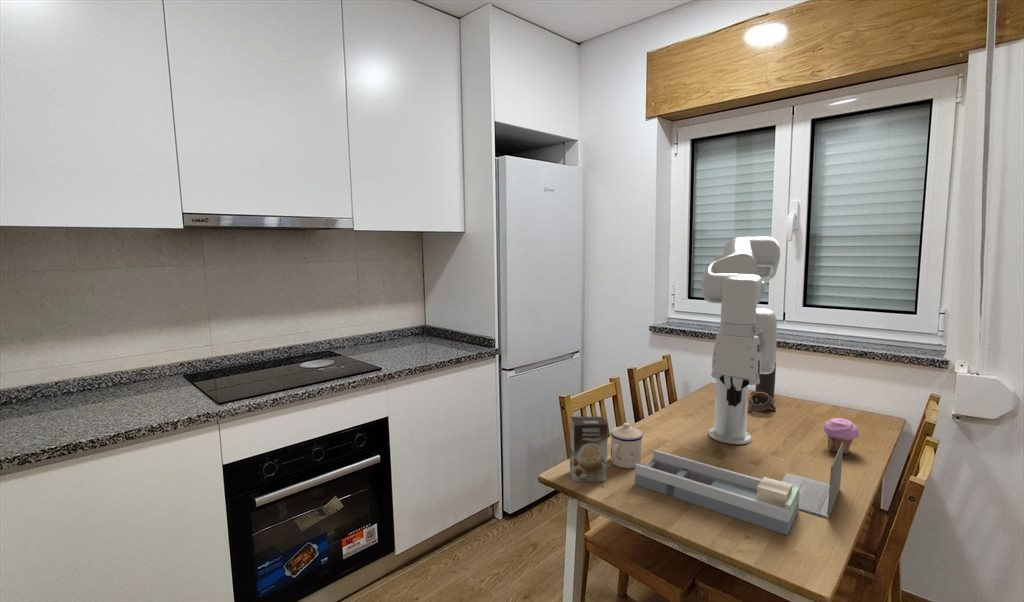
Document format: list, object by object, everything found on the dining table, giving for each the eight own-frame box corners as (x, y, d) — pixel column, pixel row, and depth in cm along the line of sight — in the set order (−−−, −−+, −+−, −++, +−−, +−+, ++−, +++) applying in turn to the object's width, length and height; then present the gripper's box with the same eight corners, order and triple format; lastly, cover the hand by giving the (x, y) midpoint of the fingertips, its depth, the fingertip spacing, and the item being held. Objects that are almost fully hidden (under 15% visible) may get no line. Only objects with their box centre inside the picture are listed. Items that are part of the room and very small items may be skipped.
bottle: (758, 400, 198) (761, 350, 195) (752, 394, 204) (755, 347, 202) (776, 400, 196) (779, 351, 194) (770, 395, 203) (773, 347, 201)
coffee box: (573, 482, 133) (573, 425, 131) (569, 471, 139) (569, 416, 137) (607, 481, 133) (608, 424, 131) (602, 470, 139) (602, 415, 137)
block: (762, 496, 119) (764, 476, 118) (791, 504, 115) (792, 484, 115) (756, 506, 114) (757, 486, 114) (785, 516, 111) (786, 495, 110)
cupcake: (819, 450, 151) (821, 419, 149) (825, 442, 157) (827, 411, 156) (854, 459, 145) (857, 426, 143) (859, 450, 151) (862, 418, 150)
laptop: (786, 475, 136) (789, 429, 135) (840, 489, 128) (844, 441, 127) (769, 502, 123) (772, 451, 121) (829, 520, 115) (833, 466, 113)
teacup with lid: (619, 452, 151) (620, 415, 149) (647, 461, 145) (648, 423, 143) (598, 466, 142) (599, 427, 140) (627, 476, 136) (628, 435, 134)
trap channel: (654, 468, 141) (654, 446, 140) (798, 511, 118) (799, 486, 117) (635, 484, 131) (635, 461, 131) (787, 535, 109) (789, 507, 108)
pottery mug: (783, 415, 182) (778, 399, 179) (759, 427, 182) (754, 410, 179) (763, 397, 193) (758, 381, 190) (741, 408, 193) (736, 392, 190)
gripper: (776, 330, 115) (771, 407, 117) (710, 323, 124) (707, 394, 127) (768, 336, 109) (763, 416, 111) (699, 328, 118) (696, 402, 121)
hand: (733, 404), depth 119 cm, fingers closed
